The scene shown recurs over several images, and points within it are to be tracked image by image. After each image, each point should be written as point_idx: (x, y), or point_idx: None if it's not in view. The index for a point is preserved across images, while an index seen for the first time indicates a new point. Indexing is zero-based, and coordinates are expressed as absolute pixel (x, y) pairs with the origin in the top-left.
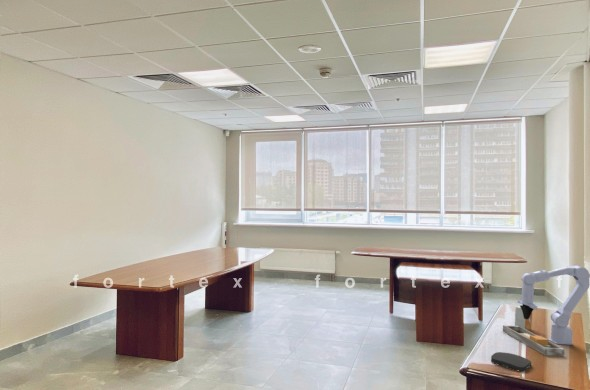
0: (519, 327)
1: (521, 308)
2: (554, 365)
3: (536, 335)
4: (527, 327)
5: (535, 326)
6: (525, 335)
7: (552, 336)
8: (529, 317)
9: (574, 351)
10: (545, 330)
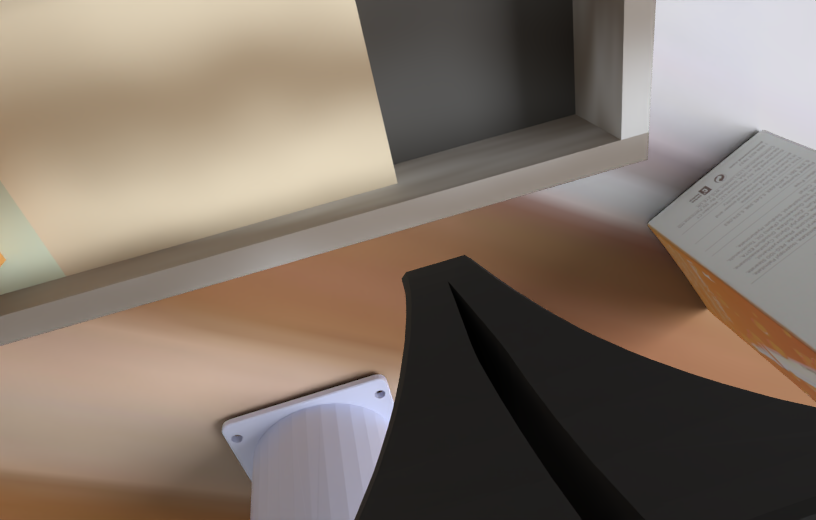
0: (596, 142)
1: (707, 400)
2: None
3: (173, 274)
4: (694, 278)
5: None
6: (256, 119)
7: (308, 447)
8: (812, 385)
9: (40, 510)
10: None
